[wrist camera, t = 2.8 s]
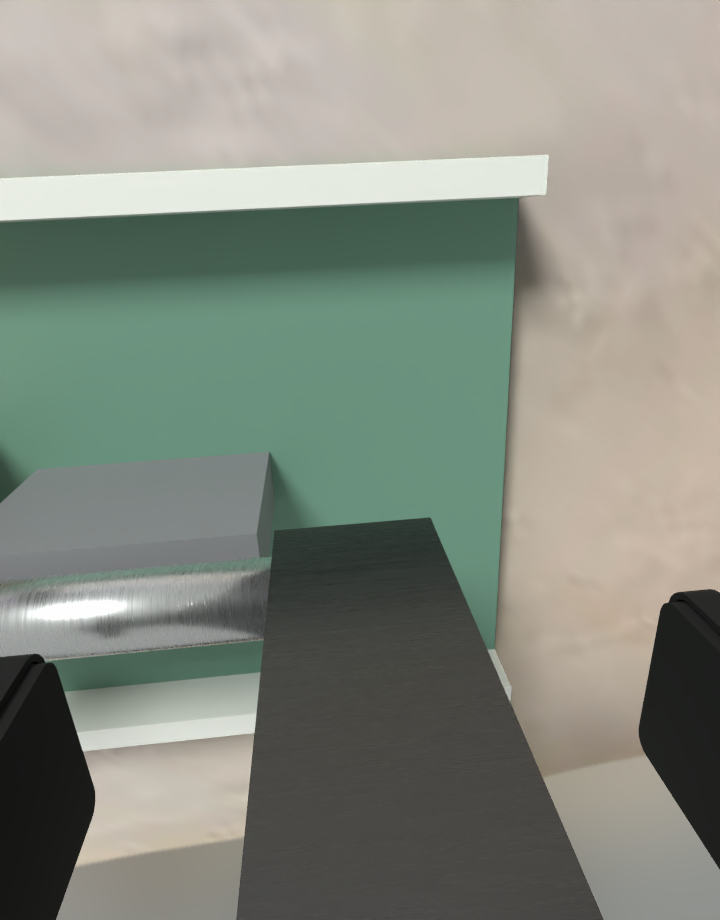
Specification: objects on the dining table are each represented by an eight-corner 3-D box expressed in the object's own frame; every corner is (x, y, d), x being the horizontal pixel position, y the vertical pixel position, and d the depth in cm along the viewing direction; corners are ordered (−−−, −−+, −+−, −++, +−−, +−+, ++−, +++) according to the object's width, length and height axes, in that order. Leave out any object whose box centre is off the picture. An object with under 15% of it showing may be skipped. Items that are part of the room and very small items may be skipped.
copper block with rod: (390, 392, 16) (617, 836, 4) (394, 550, 18) (560, 1149, 6) (-126, 427, 15) (-1553, 1104, 3) (-63, 590, 17) (-846, 1373, 5)
